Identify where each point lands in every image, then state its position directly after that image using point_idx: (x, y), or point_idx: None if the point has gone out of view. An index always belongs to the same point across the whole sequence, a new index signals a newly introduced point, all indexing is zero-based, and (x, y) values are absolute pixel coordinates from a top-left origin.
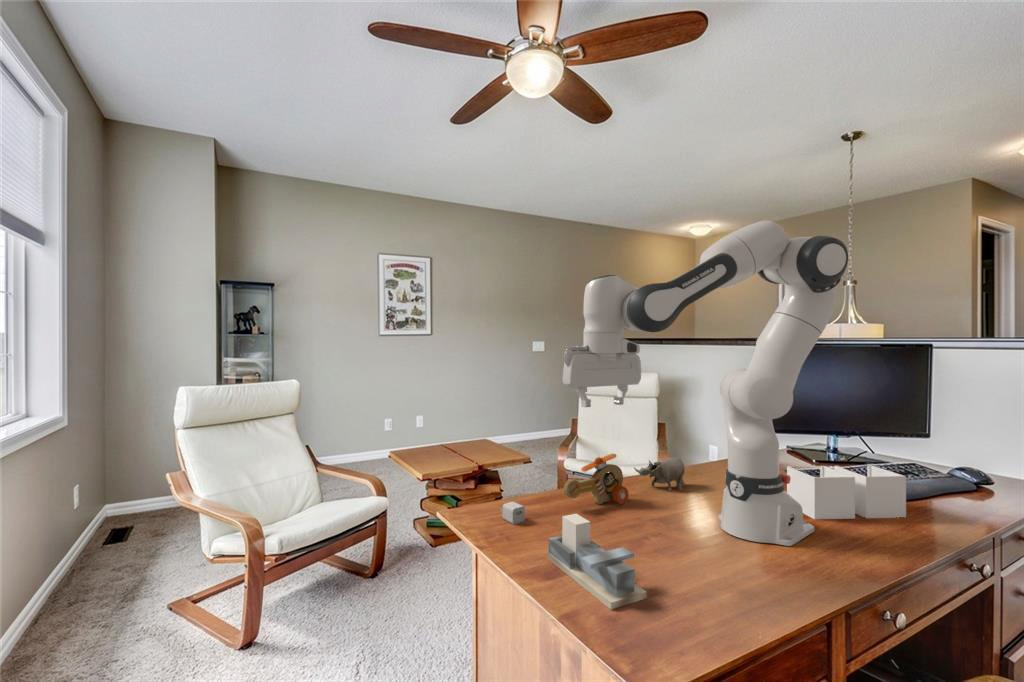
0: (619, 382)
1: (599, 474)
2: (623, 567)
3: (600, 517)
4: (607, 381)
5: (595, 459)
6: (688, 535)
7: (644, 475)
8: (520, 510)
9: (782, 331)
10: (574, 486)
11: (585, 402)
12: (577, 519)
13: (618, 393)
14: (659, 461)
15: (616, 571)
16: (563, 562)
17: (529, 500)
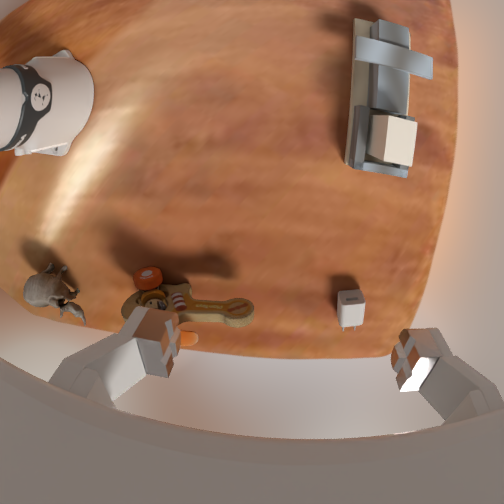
0: (126, 435)
1: None
2: (389, 30)
3: (220, 244)
4: (310, 479)
5: None
6: (143, 120)
7: (79, 306)
8: (349, 301)
9: None
10: (235, 311)
11: (446, 344)
12: (400, 137)
13: (128, 383)
14: (50, 303)
15: (404, 31)
16: None
17: (277, 345)
